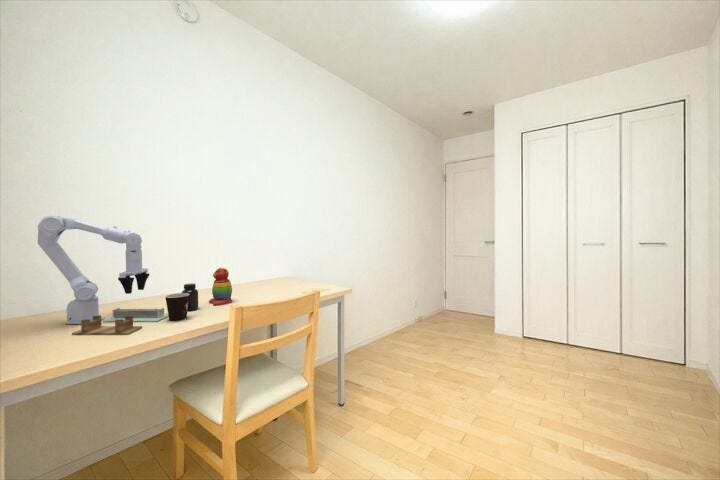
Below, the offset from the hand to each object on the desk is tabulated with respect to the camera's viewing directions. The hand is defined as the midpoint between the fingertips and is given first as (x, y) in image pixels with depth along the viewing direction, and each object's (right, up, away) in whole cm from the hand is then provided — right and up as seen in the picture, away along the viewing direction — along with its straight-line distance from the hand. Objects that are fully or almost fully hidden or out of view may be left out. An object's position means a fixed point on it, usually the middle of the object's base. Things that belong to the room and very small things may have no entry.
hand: (134, 291), depth 133 cm
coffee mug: (+22, -11, -3) cm, 25 cm away
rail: (+5, -10, -4) cm, 12 cm away
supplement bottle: (+19, -10, +10) cm, 24 cm away
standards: (+5, -11, -20) cm, 24 cm away
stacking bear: (+28, -10, +23) cm, 37 cm away
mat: (+5, -11, -4) cm, 13 cm away
